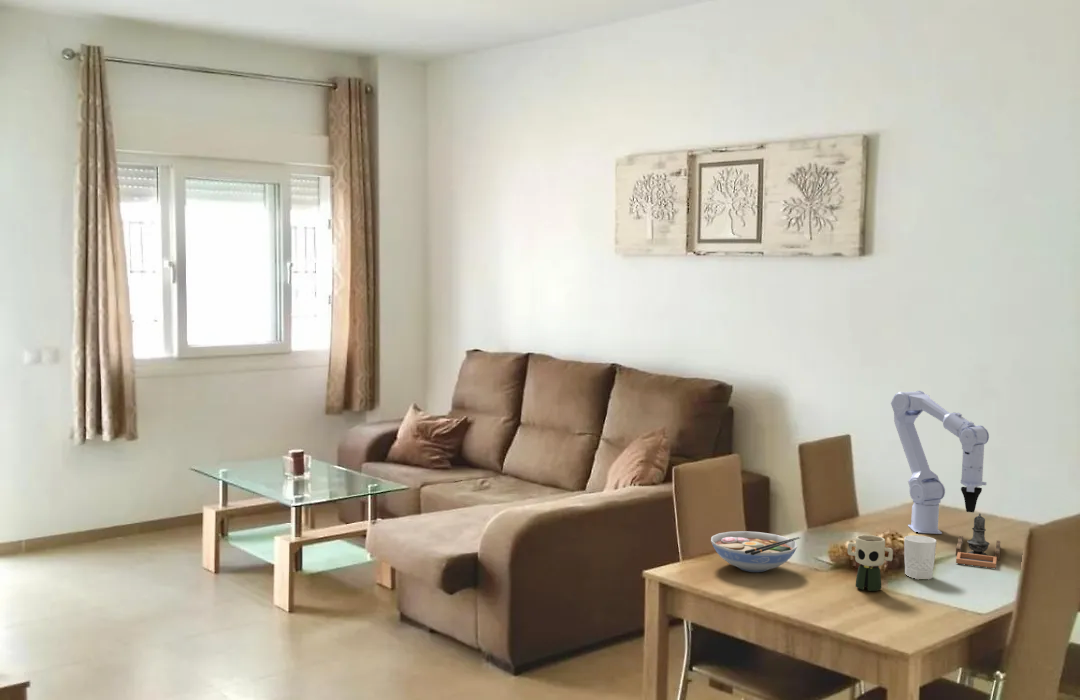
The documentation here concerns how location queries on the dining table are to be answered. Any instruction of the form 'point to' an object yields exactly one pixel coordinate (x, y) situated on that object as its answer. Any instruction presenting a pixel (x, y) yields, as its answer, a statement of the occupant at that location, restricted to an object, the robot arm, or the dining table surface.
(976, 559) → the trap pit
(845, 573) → the dining table surface
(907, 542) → the white cup
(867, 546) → the character mug
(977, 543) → the dark grey figurine
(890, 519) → the dining table surface
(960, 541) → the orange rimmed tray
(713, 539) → the ramen bowl
